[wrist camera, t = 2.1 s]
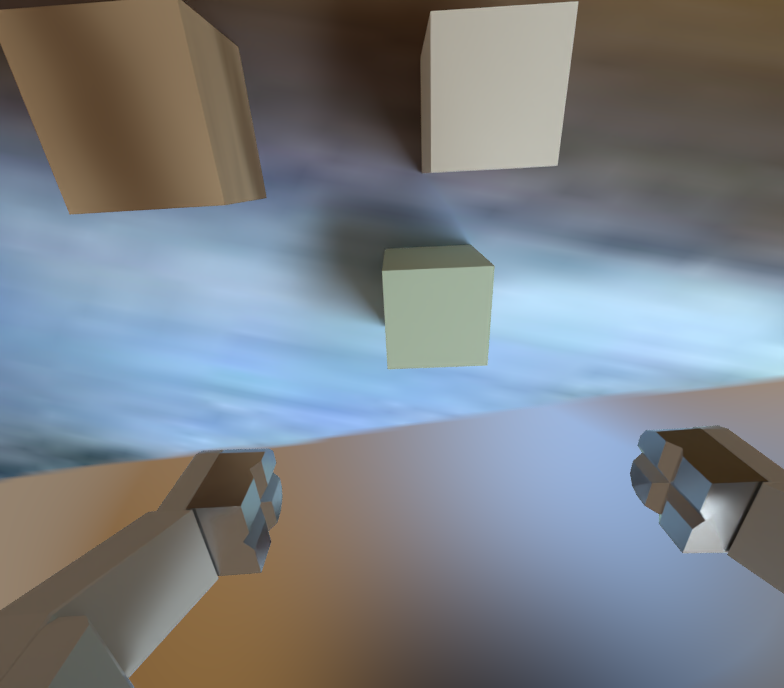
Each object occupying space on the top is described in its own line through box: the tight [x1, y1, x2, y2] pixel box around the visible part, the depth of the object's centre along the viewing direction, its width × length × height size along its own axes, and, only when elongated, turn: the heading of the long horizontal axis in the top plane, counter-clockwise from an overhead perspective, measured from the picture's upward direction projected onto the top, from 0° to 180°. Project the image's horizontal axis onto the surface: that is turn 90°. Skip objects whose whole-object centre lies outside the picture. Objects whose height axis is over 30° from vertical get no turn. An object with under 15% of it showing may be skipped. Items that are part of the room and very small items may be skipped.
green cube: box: [382, 245, 494, 369], centre depth 18 cm, size 4×4×5 cm
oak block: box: [0, 0, 267, 214], centre depth 15 cm, size 6×6×5 cm
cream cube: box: [420, 1, 578, 173], centre depth 14 cm, size 4×4×5 cm
